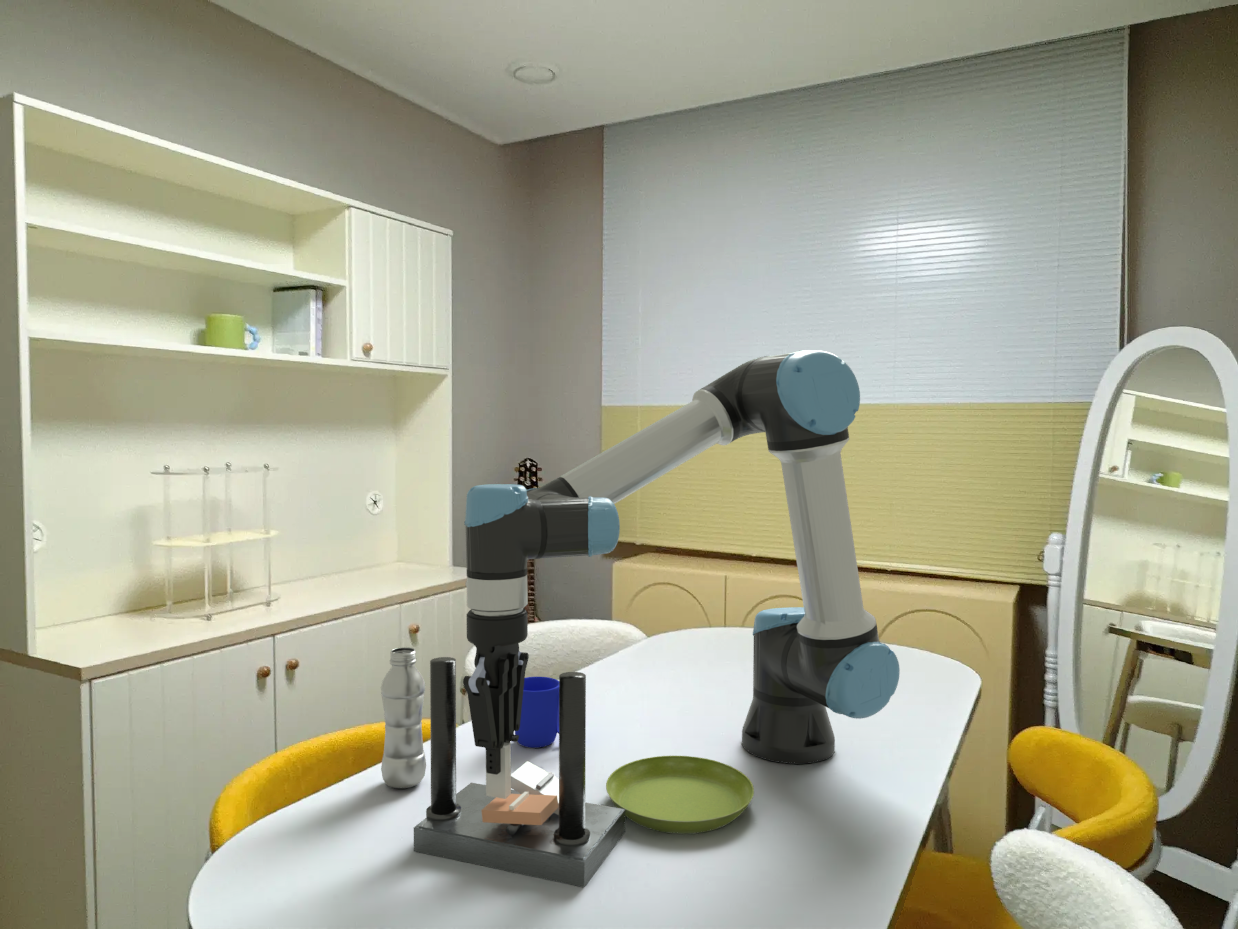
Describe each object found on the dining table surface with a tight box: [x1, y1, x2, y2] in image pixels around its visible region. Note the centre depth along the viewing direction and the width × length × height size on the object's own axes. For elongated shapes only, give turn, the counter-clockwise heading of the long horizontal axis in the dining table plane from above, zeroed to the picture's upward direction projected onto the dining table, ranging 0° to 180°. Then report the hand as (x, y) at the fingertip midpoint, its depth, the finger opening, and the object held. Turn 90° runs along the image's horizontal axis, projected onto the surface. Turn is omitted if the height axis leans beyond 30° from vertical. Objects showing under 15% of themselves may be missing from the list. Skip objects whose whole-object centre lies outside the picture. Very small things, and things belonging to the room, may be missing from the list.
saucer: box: [605, 755, 755, 835], centre depth 116 cm, size 21×21×3 cm
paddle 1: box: [511, 760, 559, 815], centre depth 109 cm, size 8×5×2 cm, turn 70°
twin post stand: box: [413, 656, 626, 888], centre depth 105 cm, size 24×14×23 cm, turn 70°
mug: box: [514, 676, 559, 749], centre depth 138 cm, size 8×12×10 cm
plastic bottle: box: [380, 646, 427, 789], centre depth 122 cm, size 6×7×20 cm
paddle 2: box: [481, 792, 558, 825], centre depth 103 cm, size 8×5×2 cm, turn 70°
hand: (498, 794), depth 104 cm, fingers closed
